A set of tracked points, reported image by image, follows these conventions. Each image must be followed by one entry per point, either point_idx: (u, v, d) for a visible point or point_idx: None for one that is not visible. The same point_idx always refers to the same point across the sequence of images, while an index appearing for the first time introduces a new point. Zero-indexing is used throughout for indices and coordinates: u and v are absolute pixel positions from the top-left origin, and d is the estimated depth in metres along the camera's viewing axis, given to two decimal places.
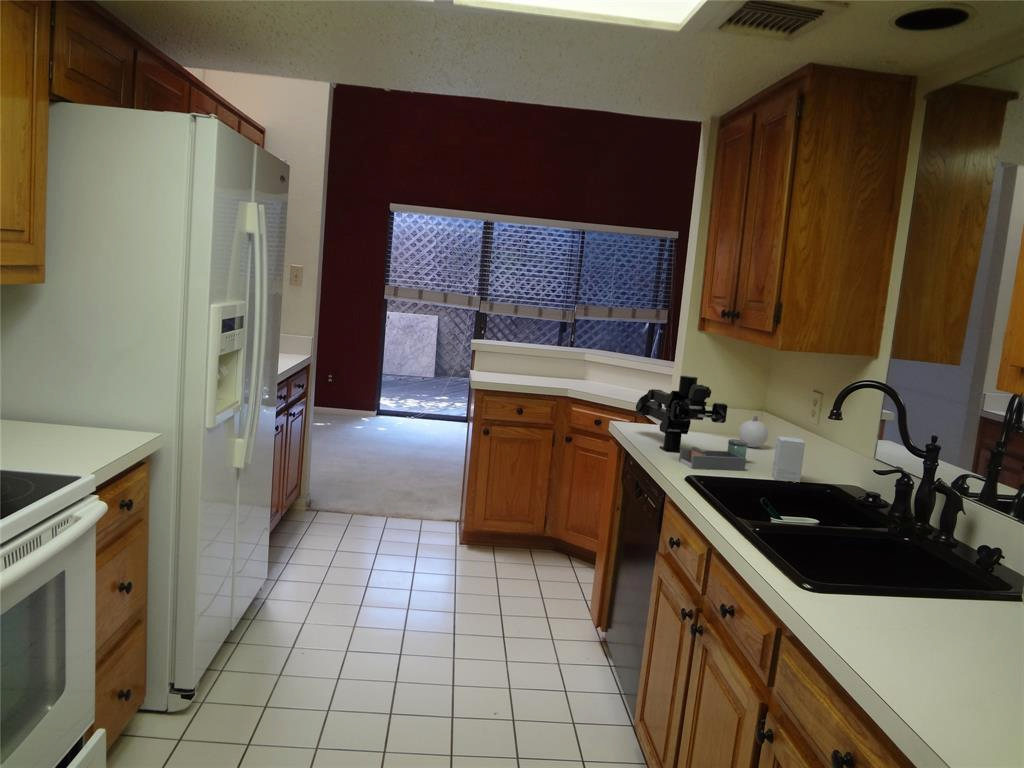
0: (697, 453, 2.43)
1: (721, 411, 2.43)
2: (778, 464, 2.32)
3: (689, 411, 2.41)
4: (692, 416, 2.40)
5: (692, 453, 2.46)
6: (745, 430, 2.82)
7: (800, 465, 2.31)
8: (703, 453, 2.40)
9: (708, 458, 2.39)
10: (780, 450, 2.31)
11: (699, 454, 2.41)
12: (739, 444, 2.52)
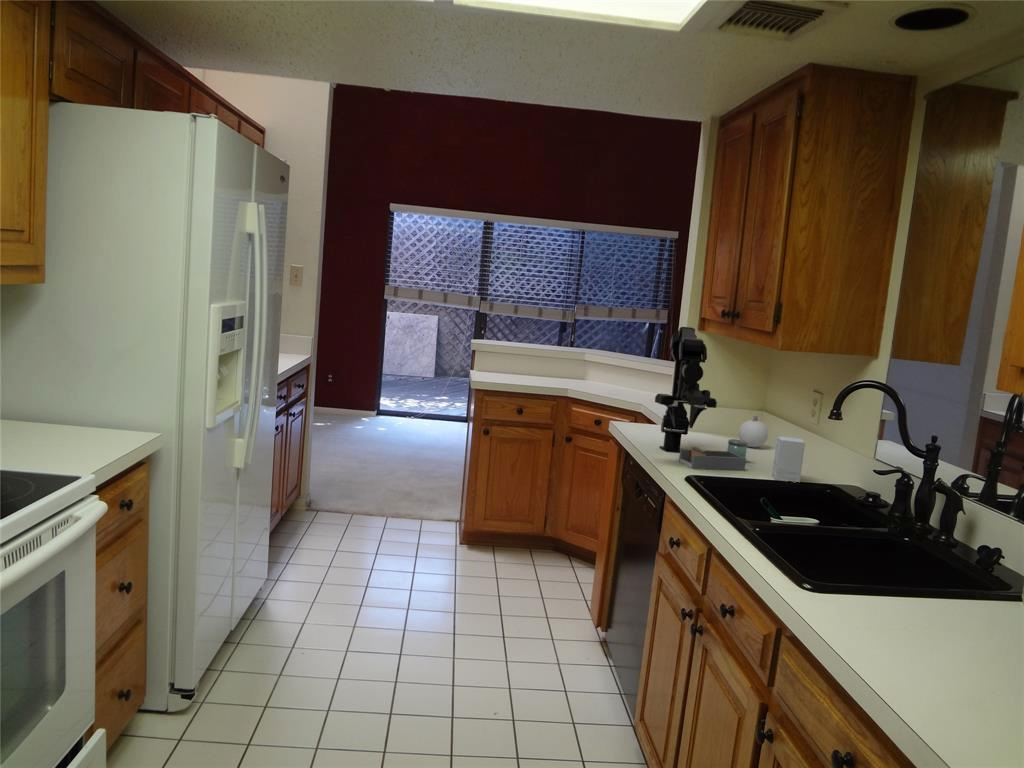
0: (697, 453, 2.43)
1: (696, 417, 2.40)
2: (778, 464, 2.32)
3: (673, 416, 2.39)
4: (672, 420, 2.40)
5: (692, 453, 2.46)
6: (745, 429, 2.82)
7: (800, 465, 2.31)
8: (703, 453, 2.40)
9: (708, 458, 2.39)
10: (780, 450, 2.31)
11: (699, 454, 2.41)
12: (739, 444, 2.52)
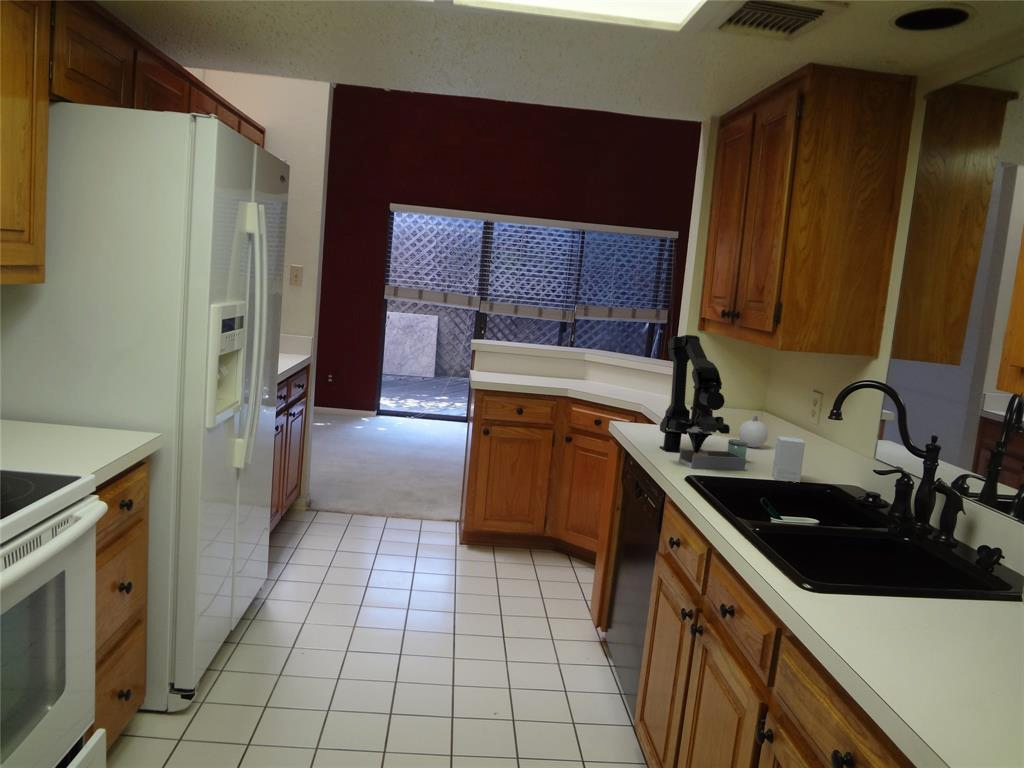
0: (699, 453, 2.43)
1: (702, 442, 2.42)
2: (778, 464, 2.32)
3: (694, 442, 2.42)
4: (693, 446, 2.43)
5: (695, 453, 2.46)
6: (745, 430, 2.82)
7: (800, 465, 2.31)
8: (705, 453, 2.40)
9: (708, 458, 2.39)
10: (780, 450, 2.31)
11: (701, 454, 2.42)
12: (739, 444, 2.52)
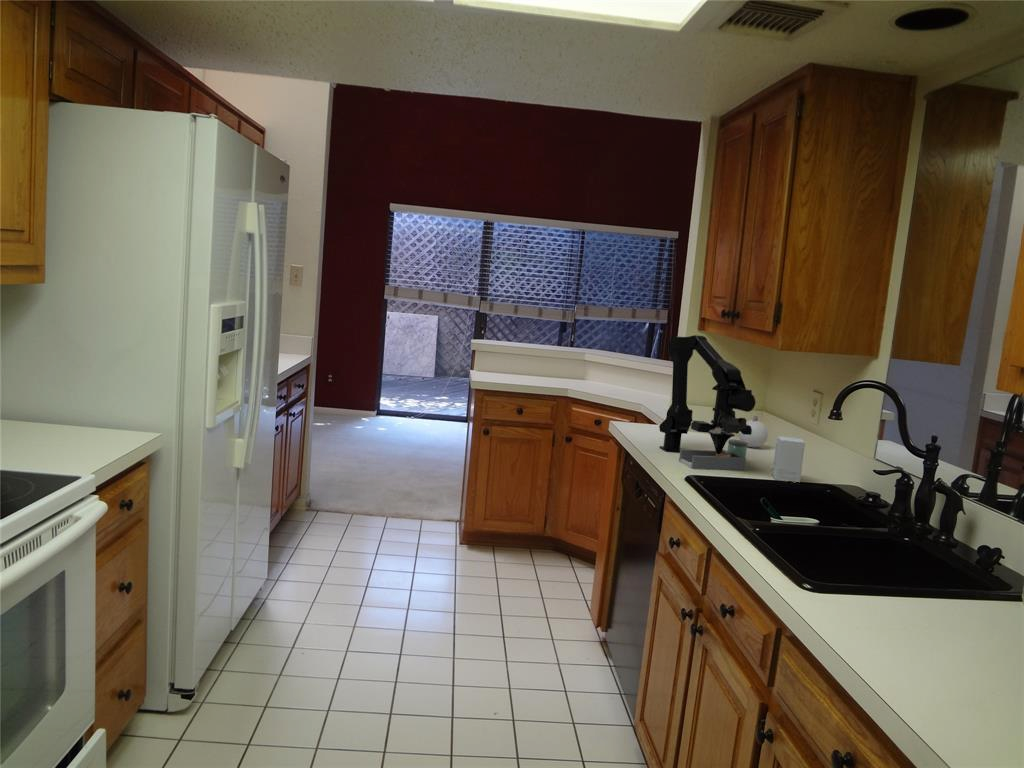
0: (722, 454, 2.45)
1: (724, 443, 2.44)
2: (778, 464, 2.32)
3: (716, 443, 2.44)
4: (715, 447, 2.45)
5: (717, 454, 2.48)
6: None
7: (800, 465, 2.31)
8: (728, 454, 2.42)
9: (708, 458, 2.39)
10: (780, 450, 2.31)
11: (724, 455, 2.43)
12: (739, 444, 2.52)
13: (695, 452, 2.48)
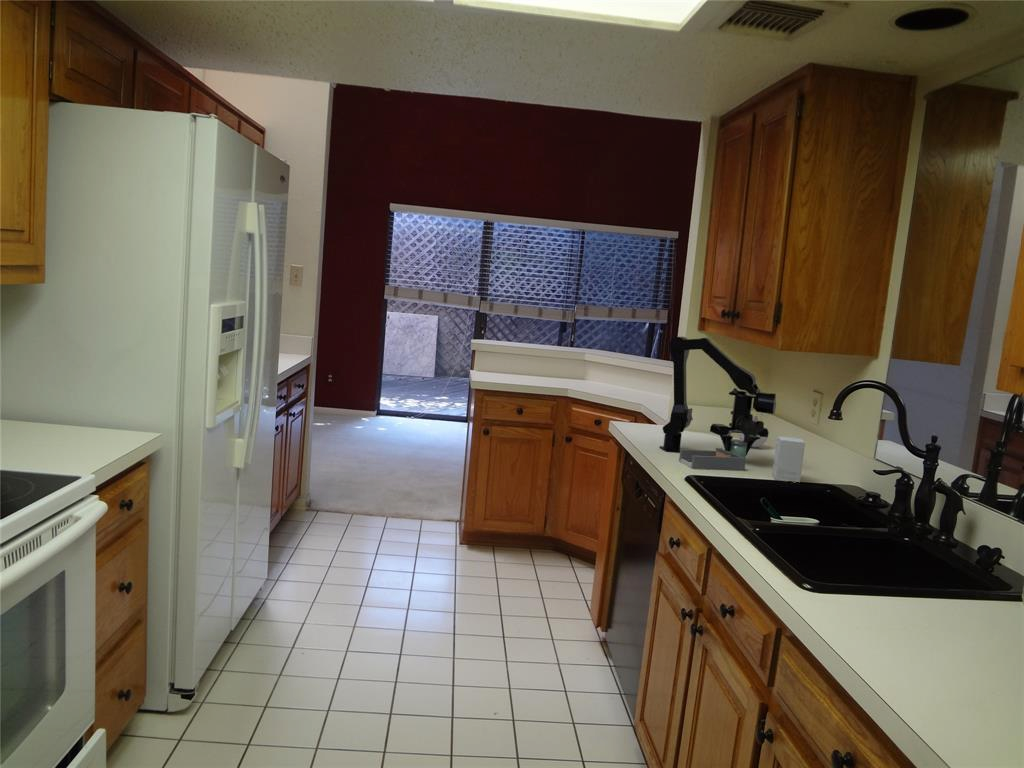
0: (722, 454, 2.45)
1: (750, 445, 2.55)
2: (778, 464, 2.32)
3: (726, 445, 2.53)
4: (725, 449, 2.55)
5: (717, 454, 2.48)
6: None
7: (800, 465, 2.31)
8: (728, 454, 2.42)
9: (708, 458, 2.39)
10: (780, 450, 2.31)
11: (724, 455, 2.43)
12: (739, 444, 2.52)
13: (695, 452, 2.48)
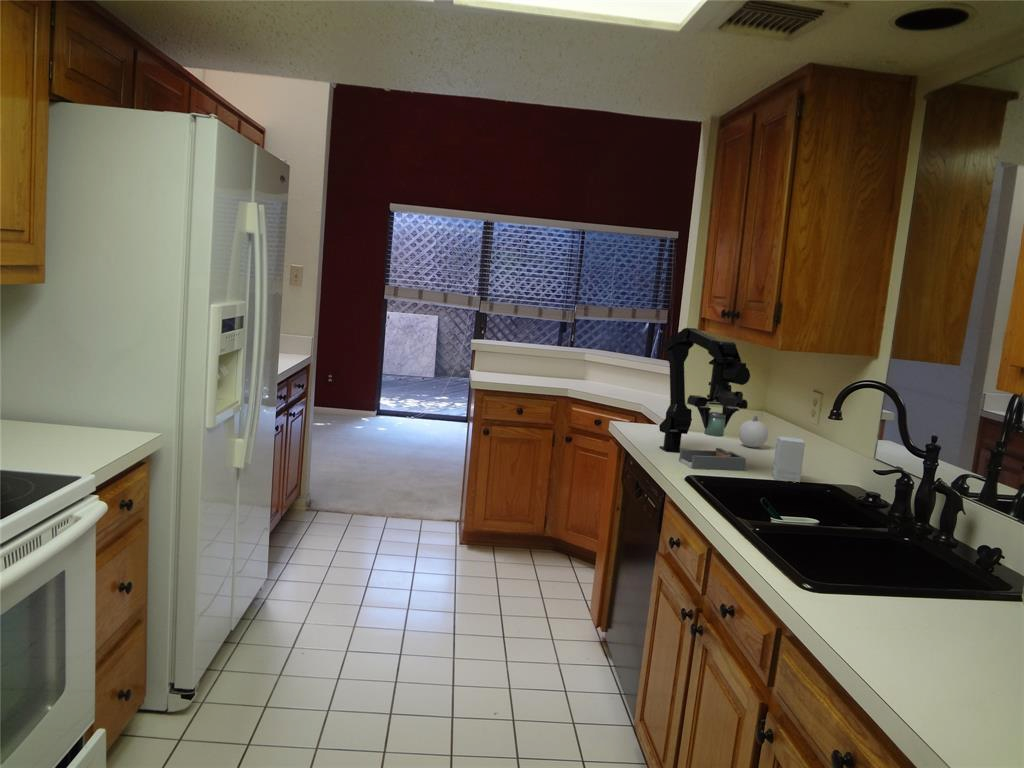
0: (722, 454, 2.45)
1: (729, 418, 2.44)
2: (778, 464, 2.32)
3: (704, 417, 2.42)
4: (703, 421, 2.44)
5: (717, 454, 2.48)
6: (745, 430, 2.82)
7: (800, 465, 2.31)
8: (728, 454, 2.42)
9: (708, 458, 2.39)
10: (780, 450, 2.31)
11: (724, 455, 2.43)
12: (718, 416, 2.41)
13: (695, 452, 2.48)
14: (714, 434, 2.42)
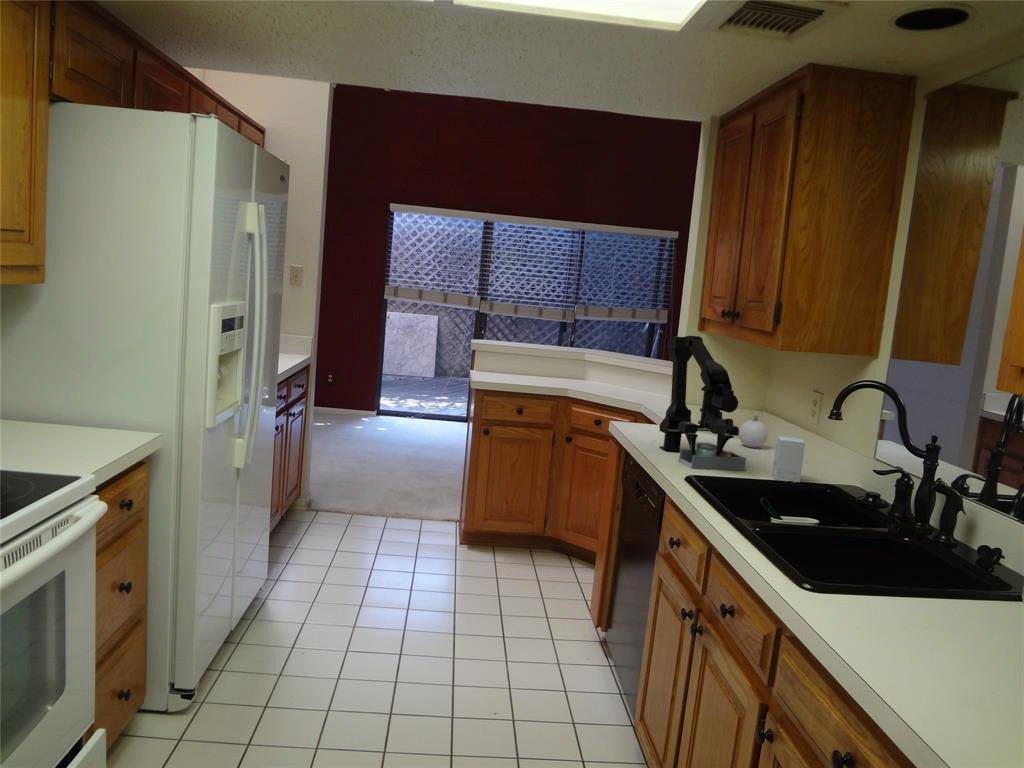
0: (722, 454, 2.45)
1: (723, 444, 2.44)
2: (778, 464, 2.32)
3: (691, 444, 2.42)
4: (690, 448, 2.43)
5: None
6: (745, 430, 2.82)
7: (800, 465, 2.31)
8: (728, 454, 2.42)
9: (708, 458, 2.39)
10: (780, 450, 2.31)
11: (724, 455, 2.43)
12: (707, 447, 2.41)
13: (695, 452, 2.48)
14: None
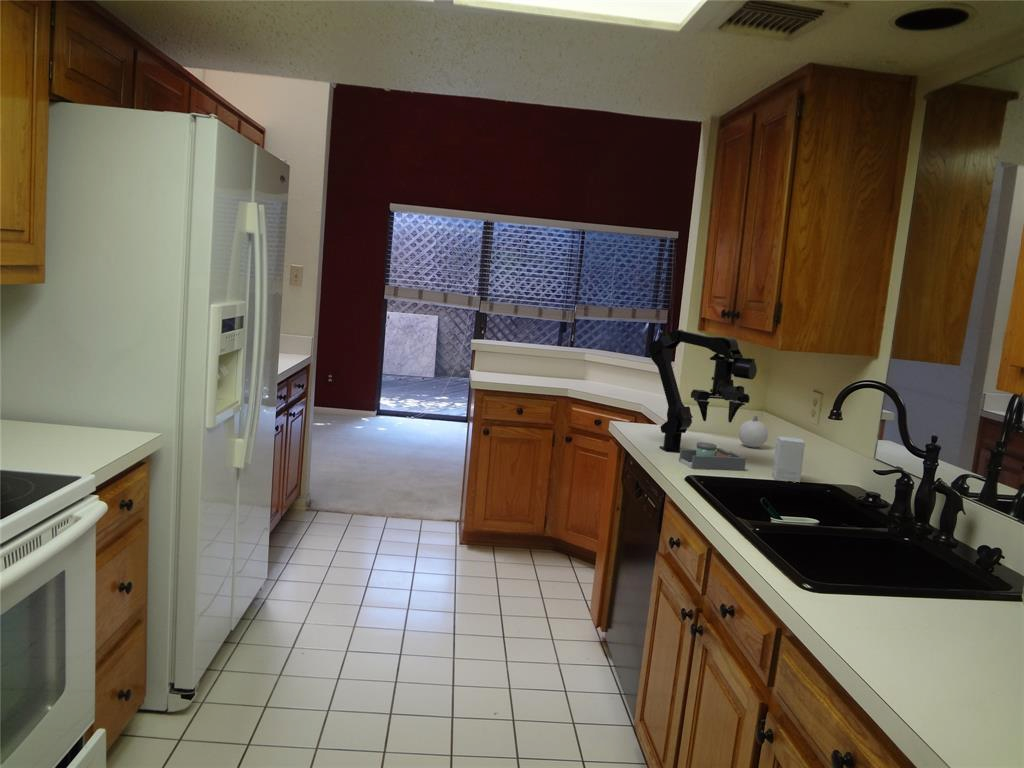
0: (722, 454, 2.45)
1: (735, 412, 2.53)
2: (778, 464, 2.32)
3: (703, 411, 2.51)
4: (702, 415, 2.52)
5: (717, 454, 2.48)
6: (745, 430, 2.82)
7: (800, 465, 2.31)
8: (728, 454, 2.42)
9: (708, 458, 2.39)
10: (780, 450, 2.31)
11: (724, 455, 2.43)
12: (707, 447, 2.41)
13: (695, 452, 2.48)
14: None
